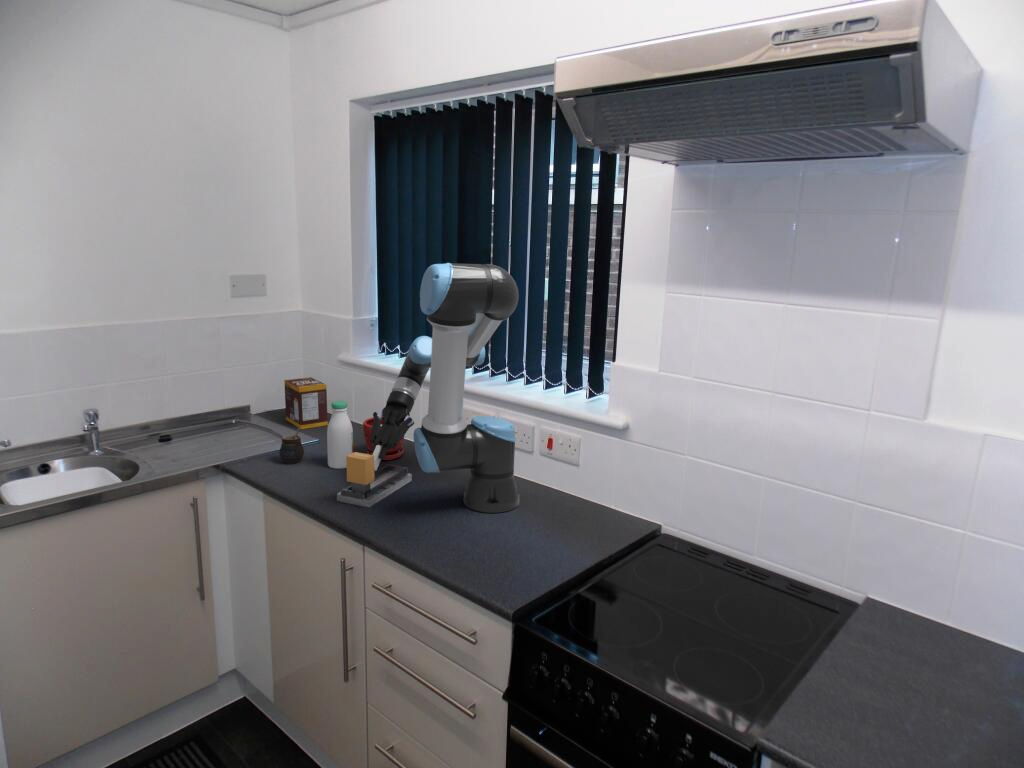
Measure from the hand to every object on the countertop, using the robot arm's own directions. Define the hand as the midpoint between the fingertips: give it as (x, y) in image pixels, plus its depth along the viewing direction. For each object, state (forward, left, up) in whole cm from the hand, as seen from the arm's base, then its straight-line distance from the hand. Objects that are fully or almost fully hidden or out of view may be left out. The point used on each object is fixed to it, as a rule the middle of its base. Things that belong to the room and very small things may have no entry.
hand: (372, 468), depth 184 cm
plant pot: (+23, -21, -7) cm, 32 cm away
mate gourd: (+38, +3, -7) cm, 38 cm away
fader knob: (-2, +5, -5) cm, 7 cm away
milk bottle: (+25, -6, -7) cm, 26 cm away
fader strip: (+1, -2, -7) cm, 7 cm away
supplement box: (+73, -23, -7) cm, 77 cm away
